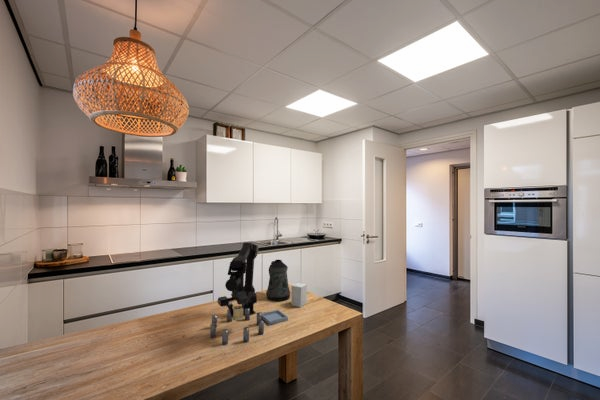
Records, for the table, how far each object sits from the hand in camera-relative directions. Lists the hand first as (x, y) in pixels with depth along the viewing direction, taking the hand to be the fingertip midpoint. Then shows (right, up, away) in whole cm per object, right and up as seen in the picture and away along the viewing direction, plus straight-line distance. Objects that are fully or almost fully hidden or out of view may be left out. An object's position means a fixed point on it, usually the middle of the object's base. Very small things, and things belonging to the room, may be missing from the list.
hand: (237, 315), depth 134 cm
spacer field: (0, -8, 0) cm, 8 cm away
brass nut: (0, -1, 0) cm, 1 cm away
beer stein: (+16, -8, +47) cm, 51 cm away
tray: (+17, -8, +14) cm, 23 cm away
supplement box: (+31, -8, +35) cm, 47 cm away
